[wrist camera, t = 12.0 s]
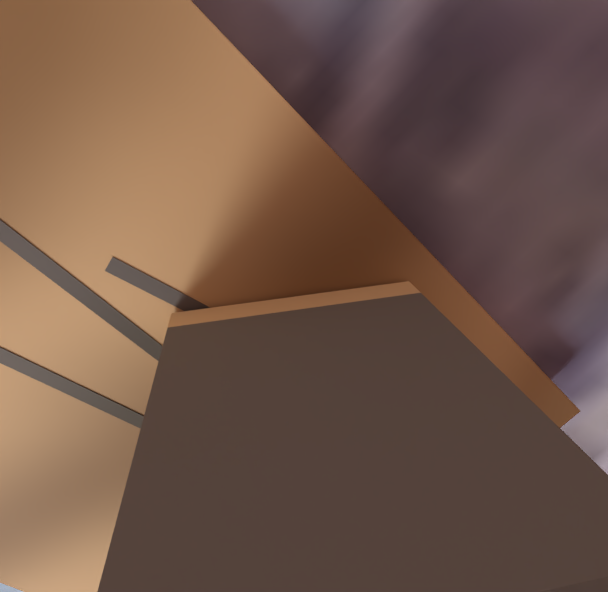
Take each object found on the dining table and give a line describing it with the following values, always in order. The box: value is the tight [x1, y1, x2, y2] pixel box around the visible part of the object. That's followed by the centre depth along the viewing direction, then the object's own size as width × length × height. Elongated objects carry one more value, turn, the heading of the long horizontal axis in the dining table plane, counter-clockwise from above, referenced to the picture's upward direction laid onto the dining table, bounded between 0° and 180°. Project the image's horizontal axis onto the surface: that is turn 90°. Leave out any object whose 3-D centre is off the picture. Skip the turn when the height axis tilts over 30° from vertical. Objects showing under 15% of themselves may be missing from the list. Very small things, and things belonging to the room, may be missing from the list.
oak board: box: [0, 0, 580, 592], centre depth 10 cm, size 16×12×1 cm
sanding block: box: [97, 281, 608, 592], centre depth 8 cm, size 8×5×6 cm, turn 4°
